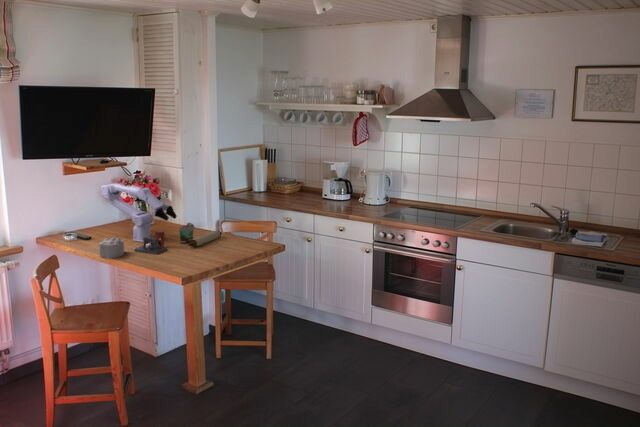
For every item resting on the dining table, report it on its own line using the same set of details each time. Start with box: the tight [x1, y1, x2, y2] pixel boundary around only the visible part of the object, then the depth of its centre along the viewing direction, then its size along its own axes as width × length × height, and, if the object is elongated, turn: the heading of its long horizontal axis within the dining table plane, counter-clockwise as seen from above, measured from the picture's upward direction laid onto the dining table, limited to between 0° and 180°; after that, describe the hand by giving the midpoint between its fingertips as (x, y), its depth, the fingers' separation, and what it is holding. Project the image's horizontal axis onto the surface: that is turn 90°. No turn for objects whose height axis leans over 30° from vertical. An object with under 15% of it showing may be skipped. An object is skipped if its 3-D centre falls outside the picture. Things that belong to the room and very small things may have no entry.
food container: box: [178, 222, 195, 245], centre depth 348 cm, size 12×6×10 cm, turn 168°
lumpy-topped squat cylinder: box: [98, 237, 125, 259], centre depth 320 cm, size 10×13×9 cm
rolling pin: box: [187, 229, 223, 249], centre depth 348 cm, size 32×6×5 cm, turn 155°
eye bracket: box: [134, 237, 168, 255], centre depth 329 cm, size 10×14×7 cm
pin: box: [146, 230, 166, 248], centre depth 331 cm, size 14×4×8 cm, turn 160°
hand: (171, 218), depth 338 cm, fingers open, 7 cm apart
